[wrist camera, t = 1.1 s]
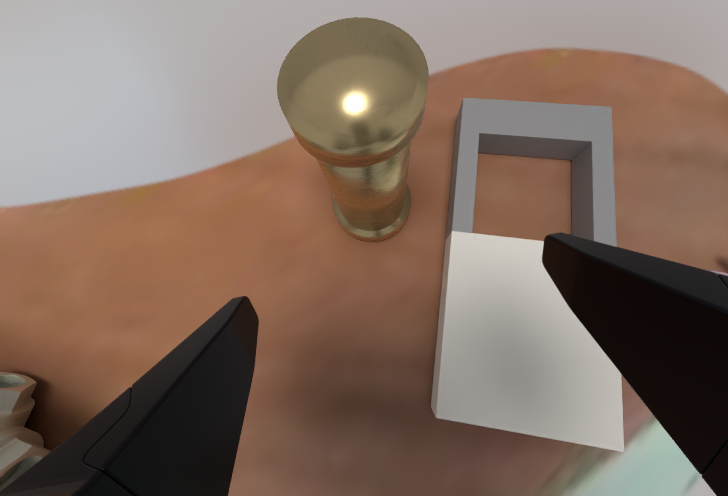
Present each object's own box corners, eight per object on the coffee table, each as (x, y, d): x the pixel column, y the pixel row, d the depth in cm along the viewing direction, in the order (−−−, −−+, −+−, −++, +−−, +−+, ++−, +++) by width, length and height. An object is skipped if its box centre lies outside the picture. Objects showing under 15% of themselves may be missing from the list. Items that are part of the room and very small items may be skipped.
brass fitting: (423, 195, 24) (457, 52, 11) (383, 255, 23) (374, 174, 11) (362, 161, 25) (332, -3, 12) (322, 218, 24) (247, 103, 12)
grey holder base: (594, 435, 19) (624, 452, 17) (430, 406, 20) (435, 418, 18) (589, 128, 24) (611, 106, 22) (456, 119, 25) (463, 97, 23)
